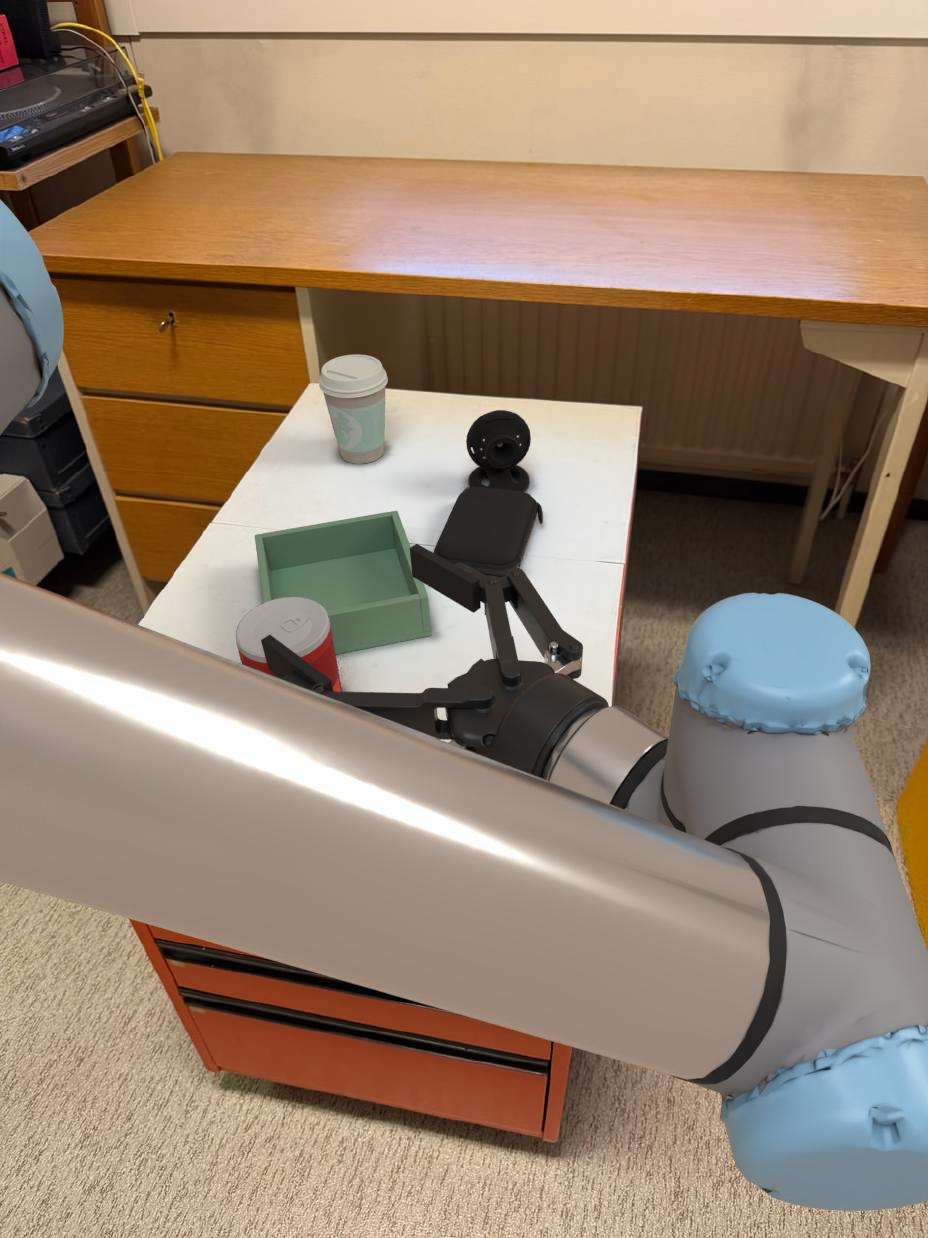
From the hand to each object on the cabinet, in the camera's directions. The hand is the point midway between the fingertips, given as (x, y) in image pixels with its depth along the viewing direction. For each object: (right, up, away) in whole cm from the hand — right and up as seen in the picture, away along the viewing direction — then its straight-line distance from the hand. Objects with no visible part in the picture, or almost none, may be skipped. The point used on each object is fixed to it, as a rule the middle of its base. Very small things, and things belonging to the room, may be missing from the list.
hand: (345, 603), depth 63 cm
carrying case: (+12, +8, +37) cm, 40 cm away
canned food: (-6, -10, +18) cm, 21 cm away
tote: (-4, +1, +30) cm, 30 cm away
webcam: (+13, +15, +46) cm, 50 cm away
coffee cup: (-5, +21, +53) cm, 57 cm away
